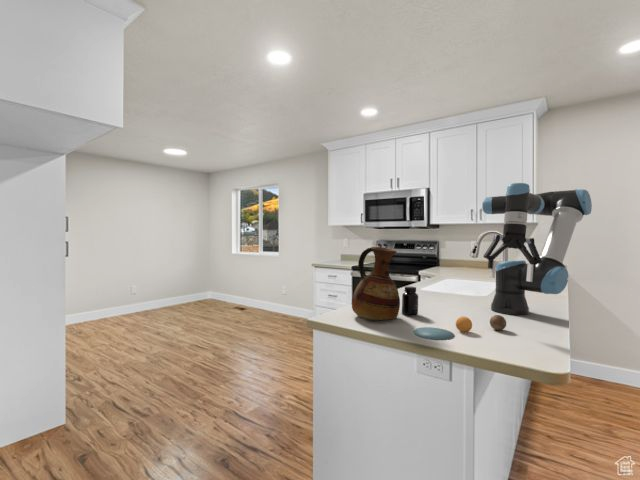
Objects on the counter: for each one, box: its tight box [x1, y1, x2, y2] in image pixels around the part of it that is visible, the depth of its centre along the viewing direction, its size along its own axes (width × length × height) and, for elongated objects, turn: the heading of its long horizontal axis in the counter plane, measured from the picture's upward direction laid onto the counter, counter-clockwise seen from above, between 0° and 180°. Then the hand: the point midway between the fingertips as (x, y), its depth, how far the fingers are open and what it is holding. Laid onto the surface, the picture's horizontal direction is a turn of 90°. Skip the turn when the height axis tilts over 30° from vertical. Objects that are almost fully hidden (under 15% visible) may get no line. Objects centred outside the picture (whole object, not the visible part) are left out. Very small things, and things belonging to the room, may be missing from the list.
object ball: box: [455, 316, 473, 333], centre depth 122 cm, size 6×6×6 cm
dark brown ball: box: [489, 314, 507, 331], centre depth 125 cm, size 6×6×6 cm
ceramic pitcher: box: [351, 245, 401, 321], centre depth 141 cm, size 20×20×30 cm
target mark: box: [412, 326, 455, 341], centre depth 120 cm, size 14×14×1 cm
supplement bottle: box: [401, 285, 419, 317], centre depth 147 cm, size 7×7×12 cm
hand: (510, 279), depth 128 cm, fingers open, 13 cm apart
